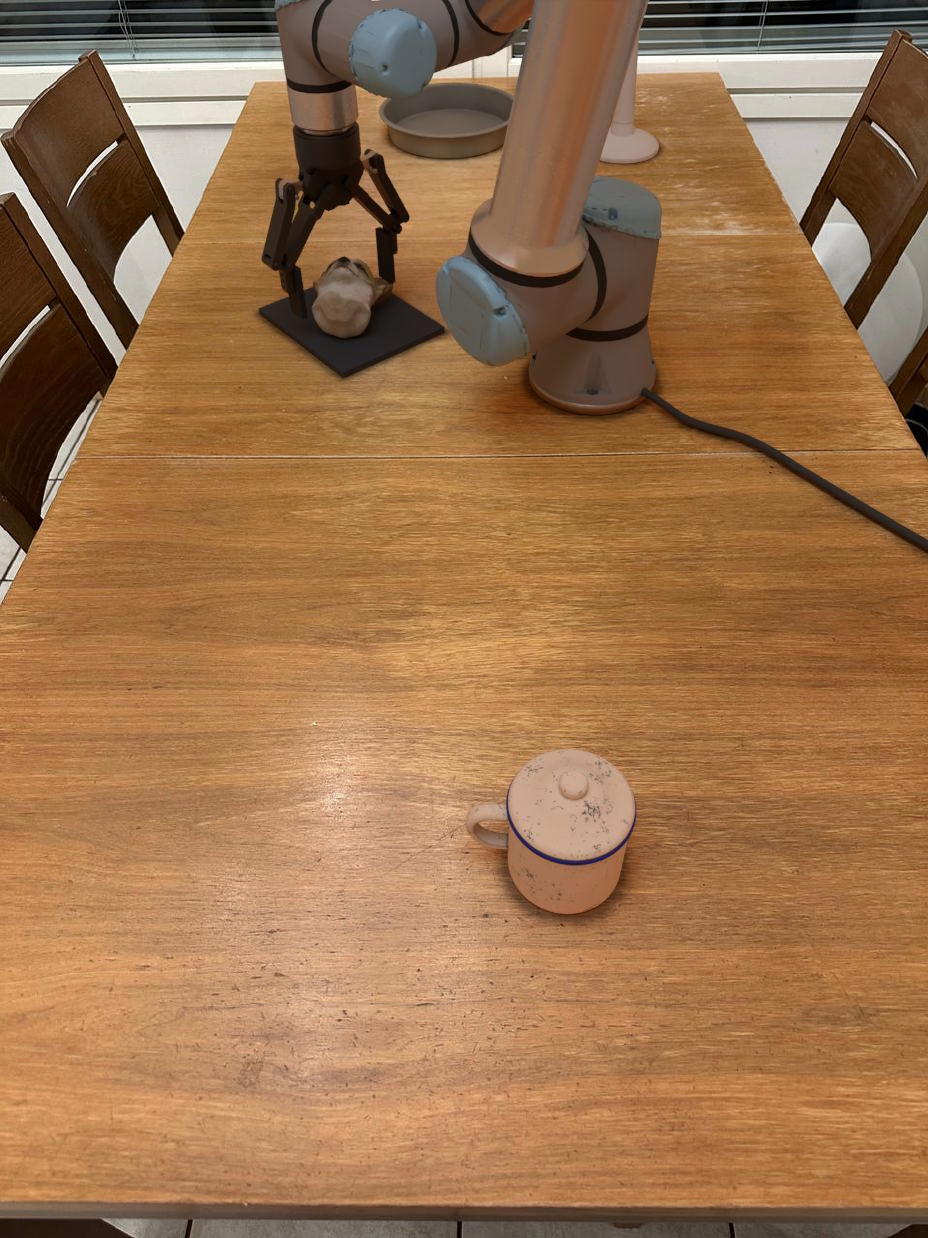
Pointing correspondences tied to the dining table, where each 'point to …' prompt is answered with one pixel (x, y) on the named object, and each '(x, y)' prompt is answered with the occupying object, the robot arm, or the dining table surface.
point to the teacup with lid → (562, 829)
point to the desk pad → (382, 338)
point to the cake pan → (449, 120)
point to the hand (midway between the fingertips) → (344, 296)
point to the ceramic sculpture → (347, 297)
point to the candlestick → (628, 125)
